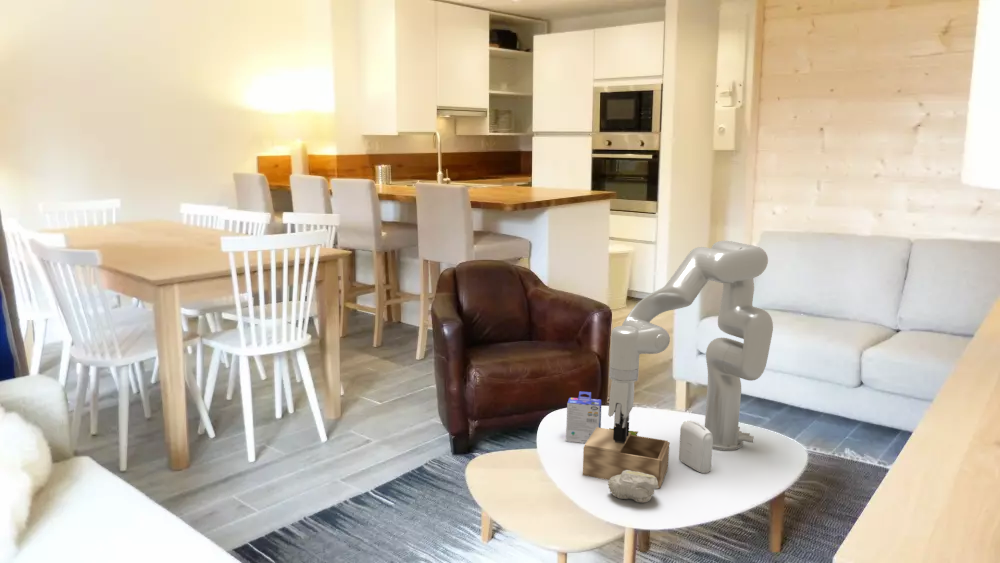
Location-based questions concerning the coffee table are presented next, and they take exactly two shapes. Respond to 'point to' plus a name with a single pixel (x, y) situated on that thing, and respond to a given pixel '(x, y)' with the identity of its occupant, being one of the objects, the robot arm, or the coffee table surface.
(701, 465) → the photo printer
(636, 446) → the open wooden box
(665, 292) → the robot arm
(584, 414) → the ink cartridge box
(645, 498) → the fossil replica
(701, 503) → the coffee table surface
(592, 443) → the flap
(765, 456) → the coffee table surface
